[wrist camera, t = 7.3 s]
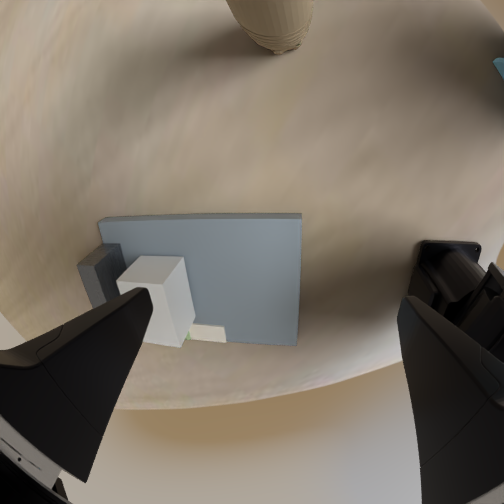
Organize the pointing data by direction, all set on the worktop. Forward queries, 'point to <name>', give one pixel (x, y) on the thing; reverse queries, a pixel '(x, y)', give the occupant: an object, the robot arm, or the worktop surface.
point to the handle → (274, 21)
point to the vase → (499, 66)
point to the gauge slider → (163, 297)
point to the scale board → (226, 269)
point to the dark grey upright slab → (102, 273)
